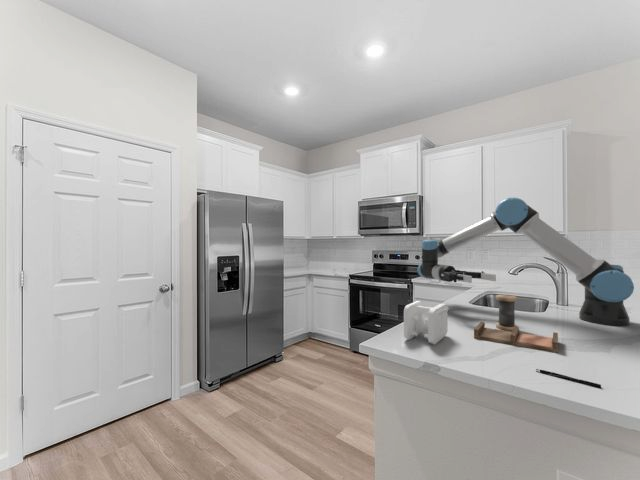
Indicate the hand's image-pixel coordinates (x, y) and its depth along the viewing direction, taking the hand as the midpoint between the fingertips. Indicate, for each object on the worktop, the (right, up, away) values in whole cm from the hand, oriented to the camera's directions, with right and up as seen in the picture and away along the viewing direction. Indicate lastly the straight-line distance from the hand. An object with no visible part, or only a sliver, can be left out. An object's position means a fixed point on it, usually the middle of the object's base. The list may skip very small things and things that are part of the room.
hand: (483, 278), depth 125 cm
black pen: (-7, -18, -51) cm, 55 cm away
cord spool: (+4, -18, -9) cm, 20 cm away
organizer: (-30, -18, -20) cm, 41 cm away
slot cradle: (-2, -18, -23) cm, 29 cm away
